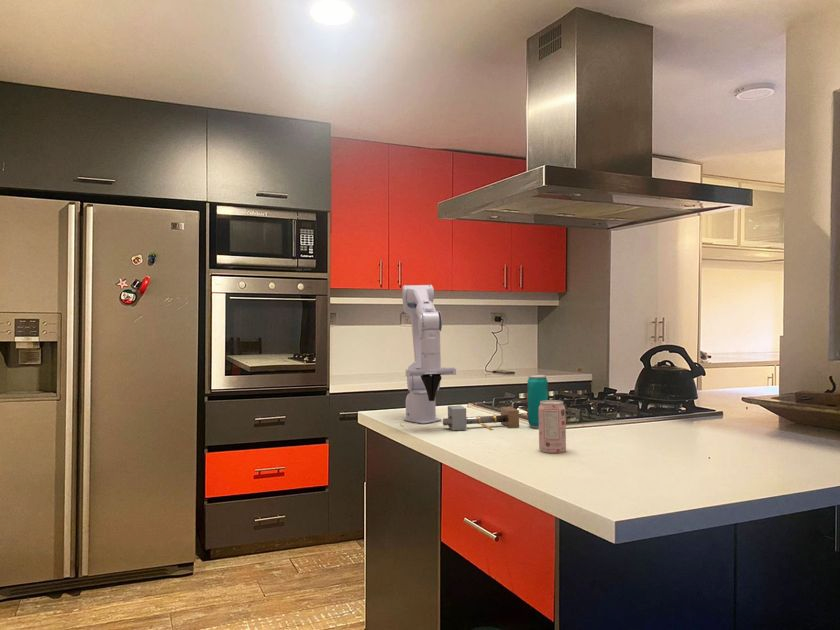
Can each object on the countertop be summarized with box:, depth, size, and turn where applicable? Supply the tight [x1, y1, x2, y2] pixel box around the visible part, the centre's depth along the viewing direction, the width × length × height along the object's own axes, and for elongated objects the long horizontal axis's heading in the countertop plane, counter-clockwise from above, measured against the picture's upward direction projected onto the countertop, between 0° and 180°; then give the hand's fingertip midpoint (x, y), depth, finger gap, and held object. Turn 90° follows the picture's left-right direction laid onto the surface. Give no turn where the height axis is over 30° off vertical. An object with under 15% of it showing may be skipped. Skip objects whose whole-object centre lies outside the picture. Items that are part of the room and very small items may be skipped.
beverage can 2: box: [538, 399, 567, 454], centre depth 157 cm, size 6×6×12 cm
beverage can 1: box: [527, 374, 549, 430], centre depth 186 cm, size 6×6×15 cm
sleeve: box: [447, 404, 468, 431], centre depth 186 cm, size 4×6×6 cm, turn 11°
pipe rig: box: [442, 406, 520, 431], centre depth 188 cm, size 22×9×5 cm, turn 101°
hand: (431, 400), depth 185 cm, fingers closed
